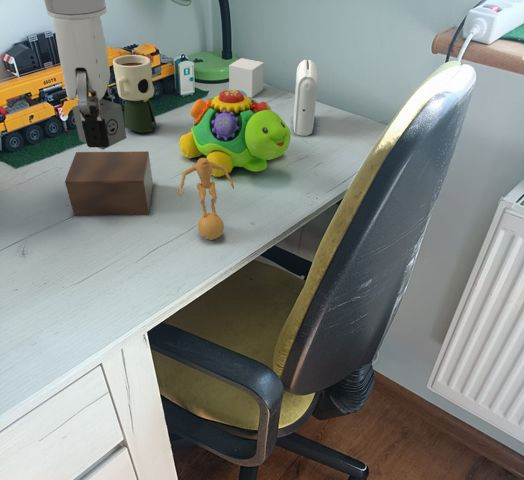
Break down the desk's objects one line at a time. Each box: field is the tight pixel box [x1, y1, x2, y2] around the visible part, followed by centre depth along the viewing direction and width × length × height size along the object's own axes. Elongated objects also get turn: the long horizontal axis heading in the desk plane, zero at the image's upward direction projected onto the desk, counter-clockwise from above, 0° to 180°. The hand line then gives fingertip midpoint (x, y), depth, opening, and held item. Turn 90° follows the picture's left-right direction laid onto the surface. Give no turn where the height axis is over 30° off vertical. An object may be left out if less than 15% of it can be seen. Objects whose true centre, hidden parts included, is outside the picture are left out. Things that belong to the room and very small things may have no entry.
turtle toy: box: [178, 89, 291, 178], centre depth 94 cm, size 17×23×12 cm
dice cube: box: [71, 99, 127, 150], centre depth 78 cm, size 5×5×5 cm
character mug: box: [112, 54, 157, 133], centre depth 102 cm, size 11×7×13 cm, turn 161°
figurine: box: [178, 157, 235, 241], centre depth 77 cm, size 8×6×12 cm
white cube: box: [228, 57, 265, 99], centre depth 121 cm, size 6×6×6 cm
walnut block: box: [64, 150, 154, 217], centre depth 85 cm, size 12×10×6 cm
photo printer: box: [292, 59, 319, 137], centre depth 105 cm, size 10×4×12 cm, turn 177°
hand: (102, 134), depth 79 cm, fingers closed on dice cube, 7 cm apart
